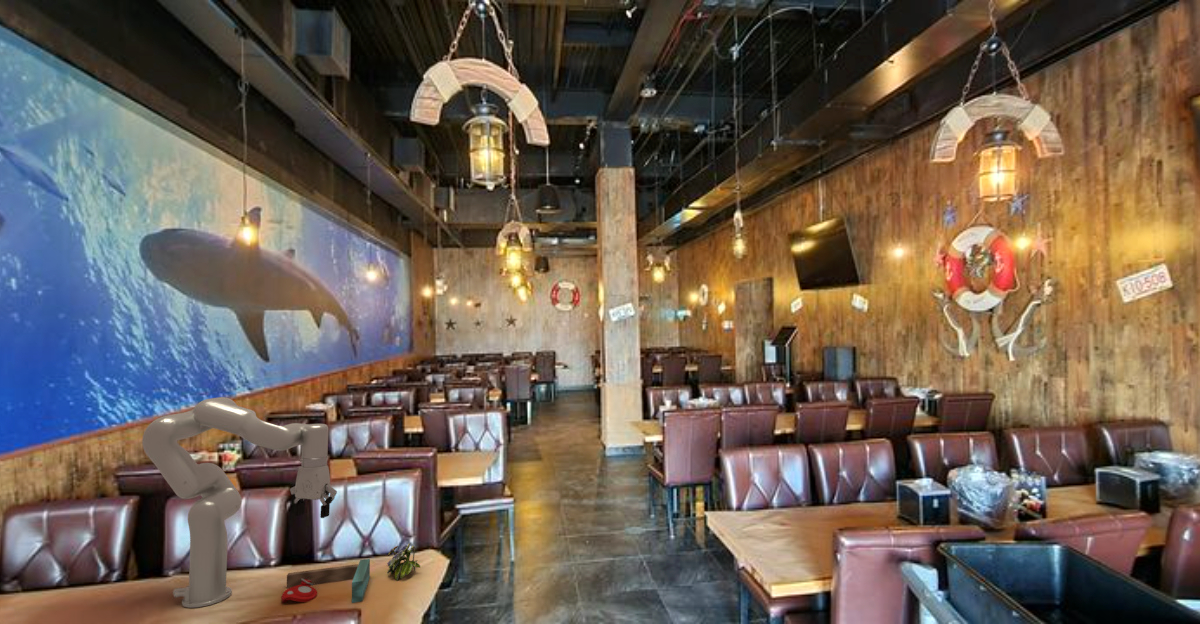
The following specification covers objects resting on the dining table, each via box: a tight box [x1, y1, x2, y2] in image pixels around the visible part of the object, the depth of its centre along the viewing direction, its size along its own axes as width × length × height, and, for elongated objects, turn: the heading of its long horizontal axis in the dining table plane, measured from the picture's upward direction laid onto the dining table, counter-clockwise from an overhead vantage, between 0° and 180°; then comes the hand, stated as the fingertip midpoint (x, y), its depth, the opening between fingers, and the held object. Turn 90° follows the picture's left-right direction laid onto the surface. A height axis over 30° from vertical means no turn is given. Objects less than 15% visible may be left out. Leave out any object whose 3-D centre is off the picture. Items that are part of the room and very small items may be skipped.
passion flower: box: [386, 543, 421, 581], centre depth 183 cm, size 11×11×12 cm
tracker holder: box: [280, 579, 318, 604], centre depth 167 cm, size 12×4×10 cm
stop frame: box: [286, 558, 371, 604], centre depth 169 cm, size 25×21×6 cm
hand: (312, 515), depth 173 cm, fingers open, 9 cm apart
